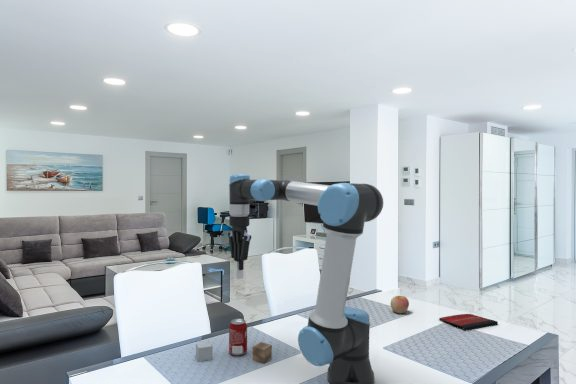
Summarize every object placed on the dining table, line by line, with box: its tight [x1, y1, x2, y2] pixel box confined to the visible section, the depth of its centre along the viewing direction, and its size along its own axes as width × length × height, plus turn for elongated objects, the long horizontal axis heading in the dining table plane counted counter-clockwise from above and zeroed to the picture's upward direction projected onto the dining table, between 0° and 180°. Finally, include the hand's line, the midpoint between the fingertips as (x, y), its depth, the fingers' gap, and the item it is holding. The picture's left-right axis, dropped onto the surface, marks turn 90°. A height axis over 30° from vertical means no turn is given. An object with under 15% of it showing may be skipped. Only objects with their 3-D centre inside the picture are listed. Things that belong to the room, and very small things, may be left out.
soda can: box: [228, 318, 248, 356], centre depth 146 cm, size 7×7×12 cm
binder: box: [438, 313, 499, 332], centre depth 182 cm, size 16×2×21 cm
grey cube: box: [195, 340, 214, 363], centre depth 142 cm, size 5×5×5 cm
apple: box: [390, 295, 410, 314], centre depth 195 cm, size 9×9×8 cm
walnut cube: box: [252, 341, 273, 364], centre depth 141 cm, size 5×5×5 cm
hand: (239, 278), depth 146 cm, fingers closed
